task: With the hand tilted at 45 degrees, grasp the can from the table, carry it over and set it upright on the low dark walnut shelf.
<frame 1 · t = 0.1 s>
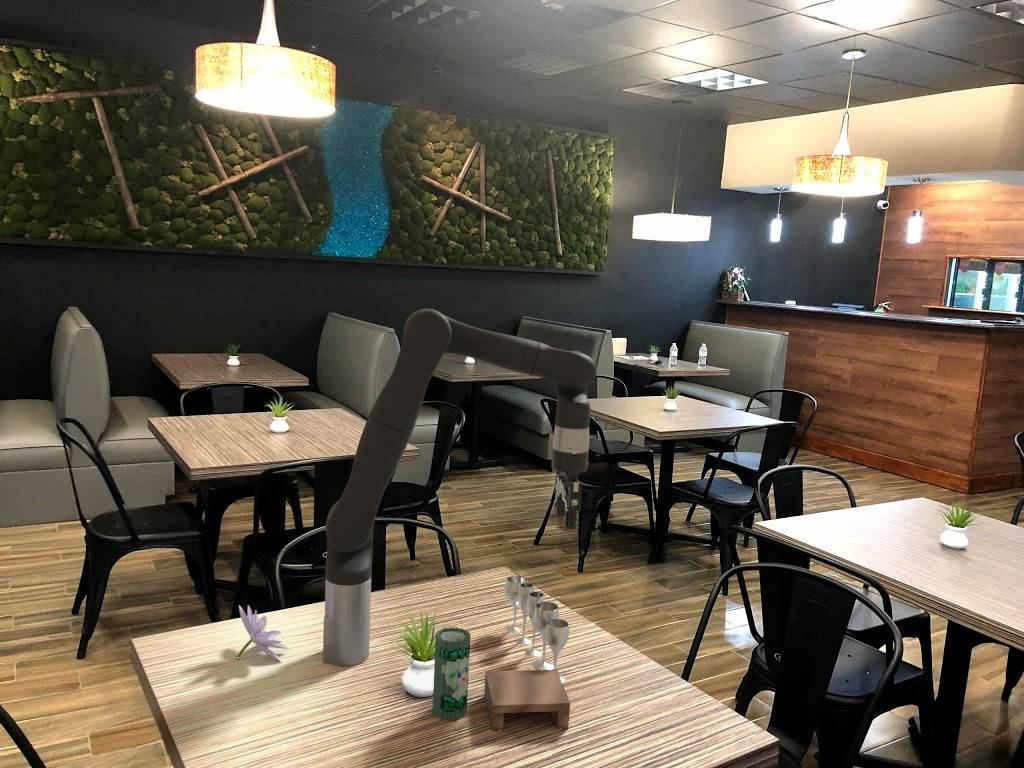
hand: (565, 522, 170), 29 cm above the table, tool pointing down, fingers open, 8 cm apart
walnut shelf: (524, 711, 150), on the table
water lily: (262, 656, 166), on the table
can: (449, 712, 149), on the table
goblet set: (532, 653, 173), on the table
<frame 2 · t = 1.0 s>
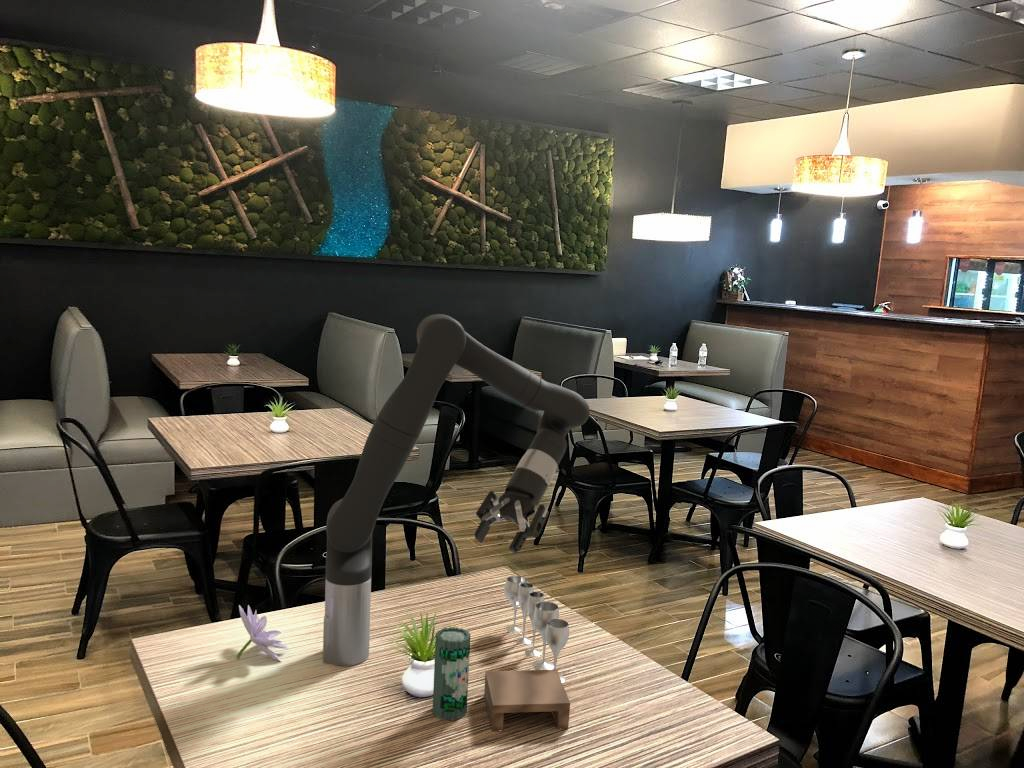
hand: (494, 545, 155), 29 cm above the table, tool tilted 45°, fingers open, 8 cm apart
nothing on the table moved.
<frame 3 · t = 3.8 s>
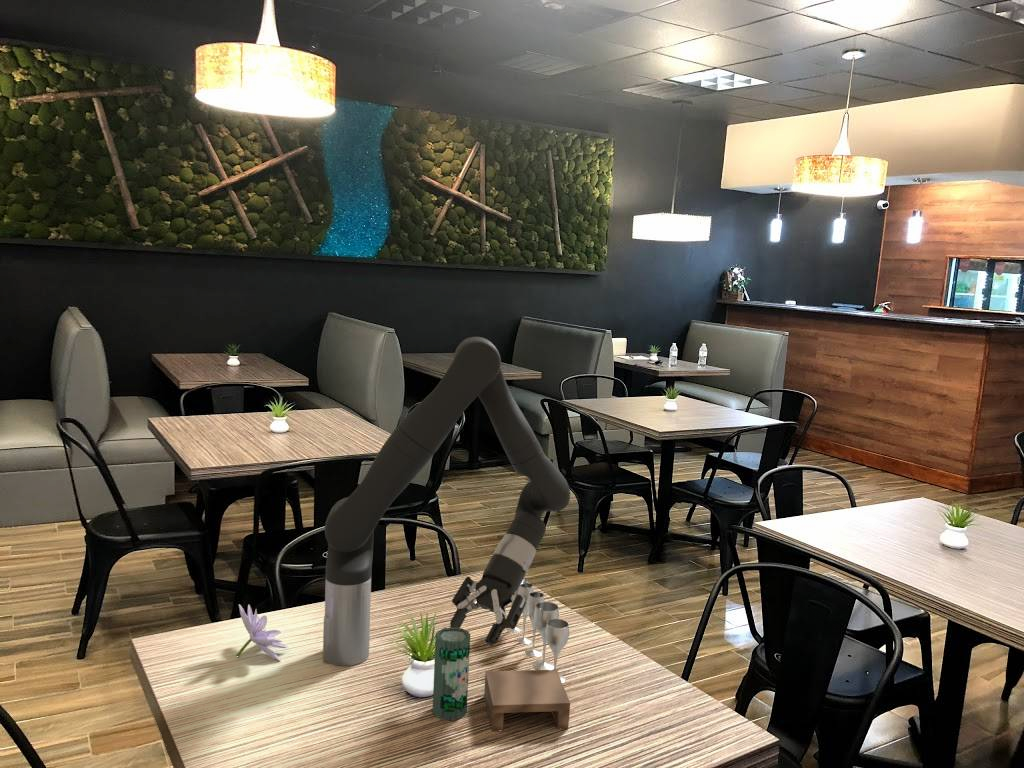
hand: (470, 636, 151), 13 cm above the table, tool tilted 45°, fingers open, 8 cm apart
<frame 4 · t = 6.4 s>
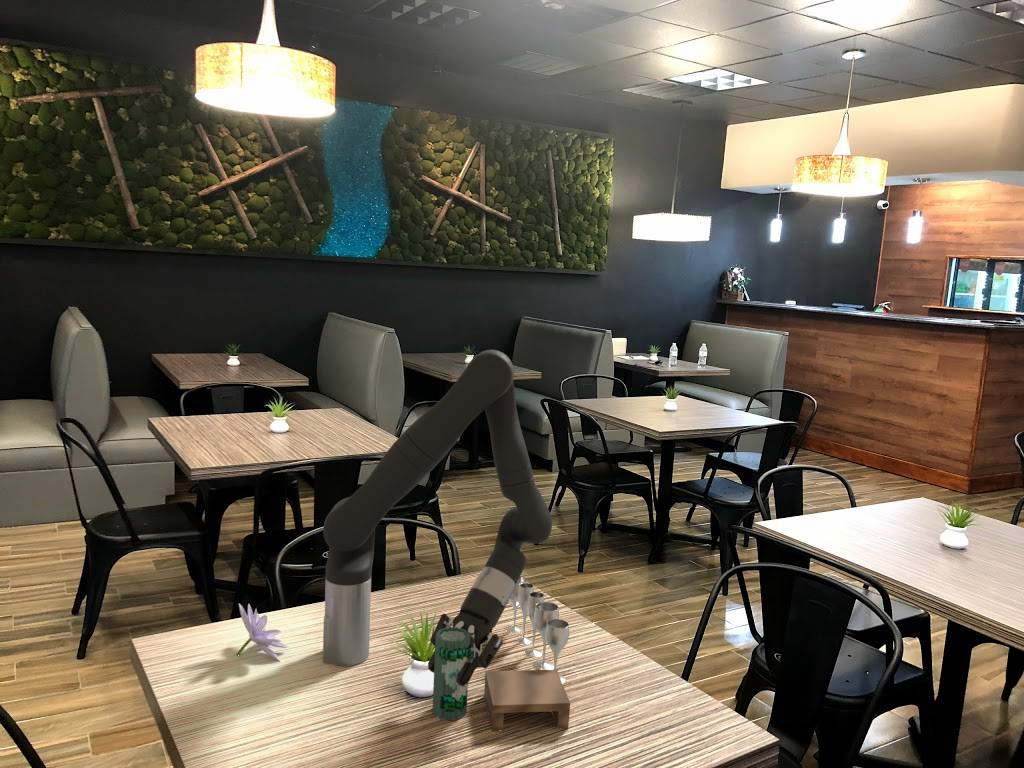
hand: (445, 677, 146), 7 cm above the table, tool tilted 45°, fingers closed on can, 6 cm apart
can: (449, 711, 149), on the table, touching gripper
everything else where it was.
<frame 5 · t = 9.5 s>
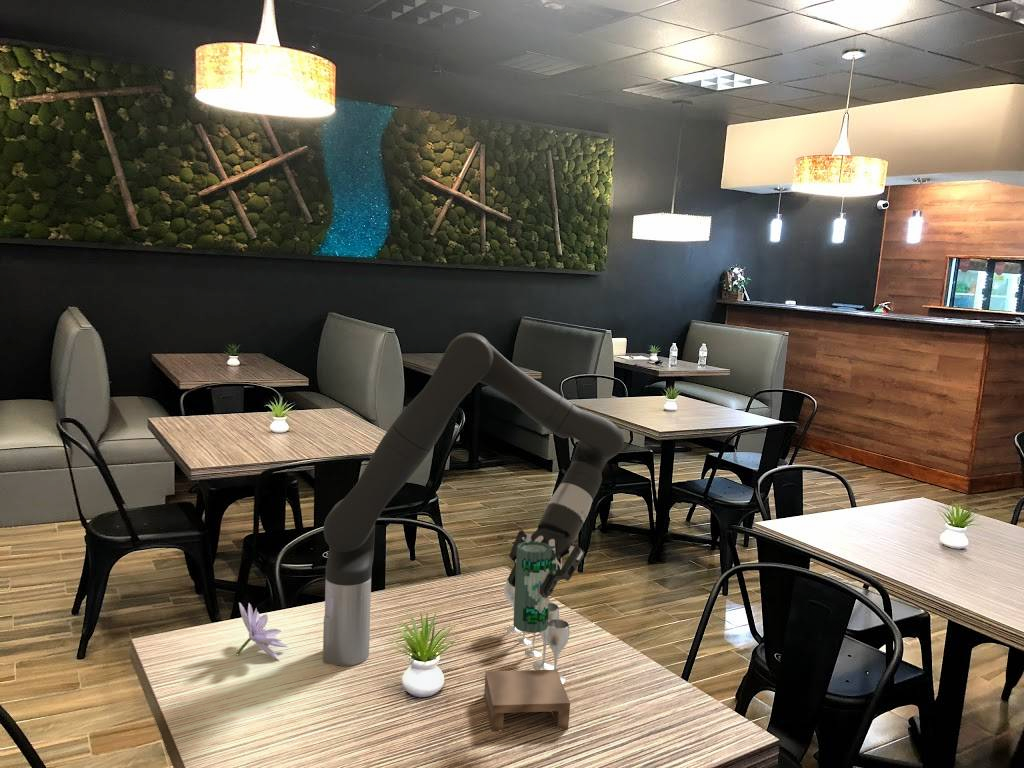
hand: (527, 590, 145), 24 cm above the table, tool tilted 45°, fingers closed on can, 6 cm apart
can: (530, 626, 148), point 17 cm above the table, touching gripper
when the fingers open (14 cm above the table, at t = 12.9 s): can drops 1 cm, resting on walnut shelf.
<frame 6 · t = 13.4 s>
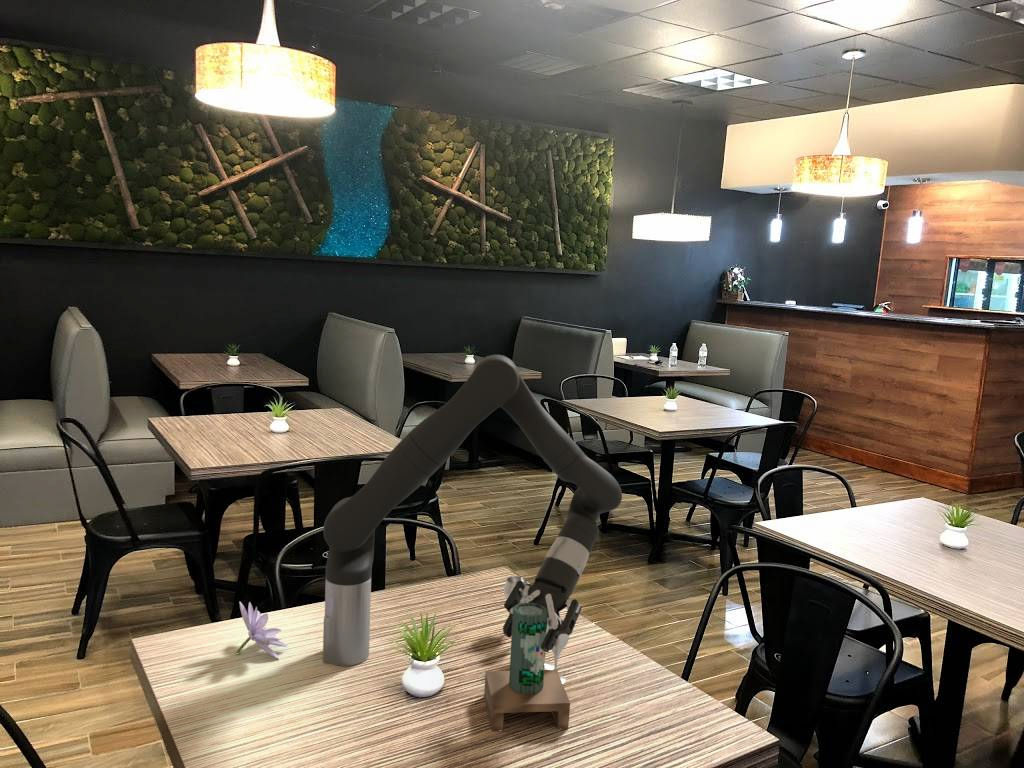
hand: (524, 642, 147), 14 cm above the table, tool tilted 45°, fingers open, 8 cm apart
can: (525, 686, 149), point 5 cm above the table, touching walnut shelf
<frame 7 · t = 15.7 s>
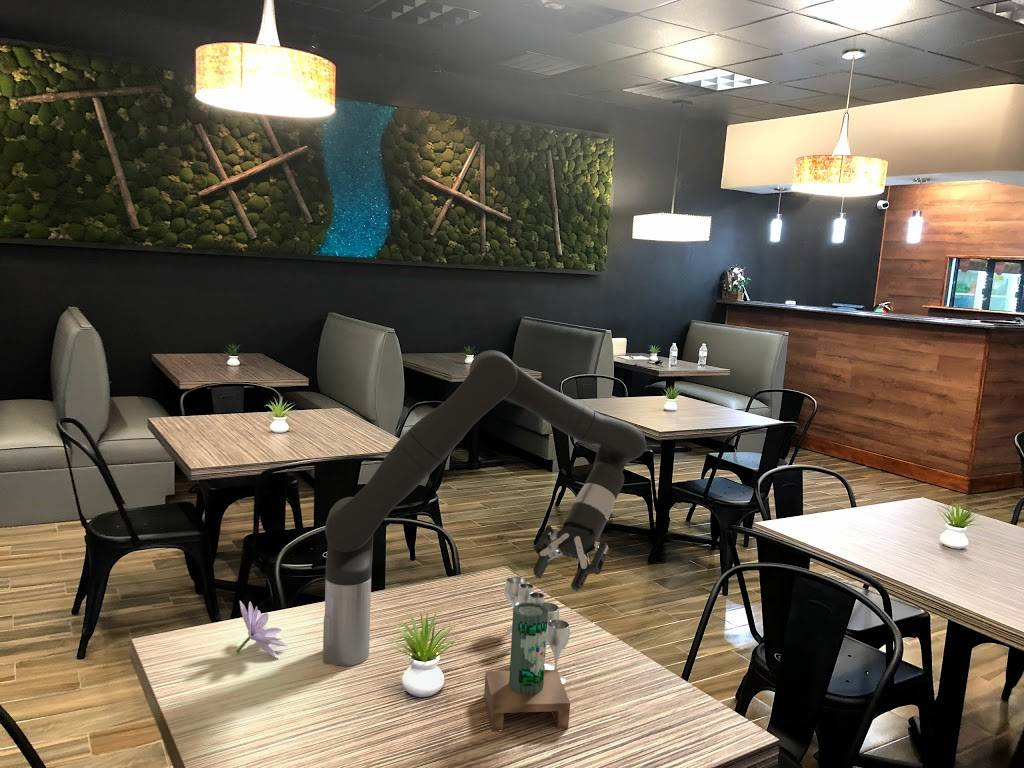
hand: (555, 582, 153), 23 cm above the table, tool tilted 45°, fingers open, 8 cm apart
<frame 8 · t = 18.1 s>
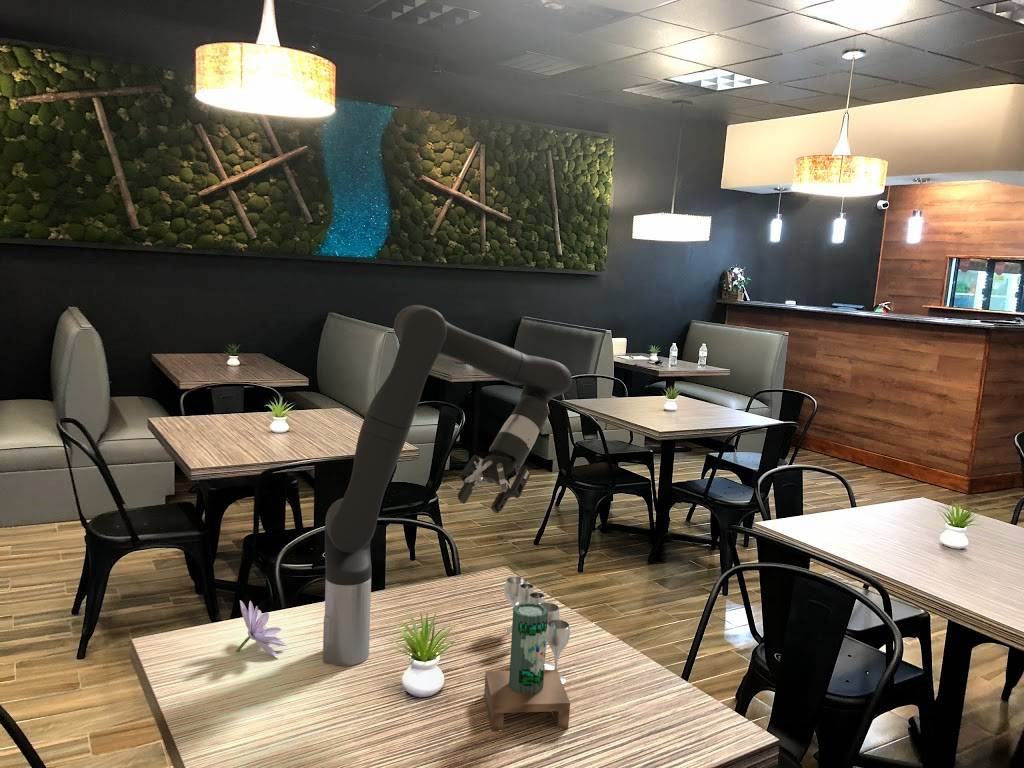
hand: (477, 506, 159), 35 cm above the table, tool tilted 45°, fingers open, 8 cm apart
at the end: can inside the target area on the walnut shelf (0.3 cm from its centre), point 4.8 cm above the walnut shelf's base; can tilted 0°; the gripper is holding nothing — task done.
